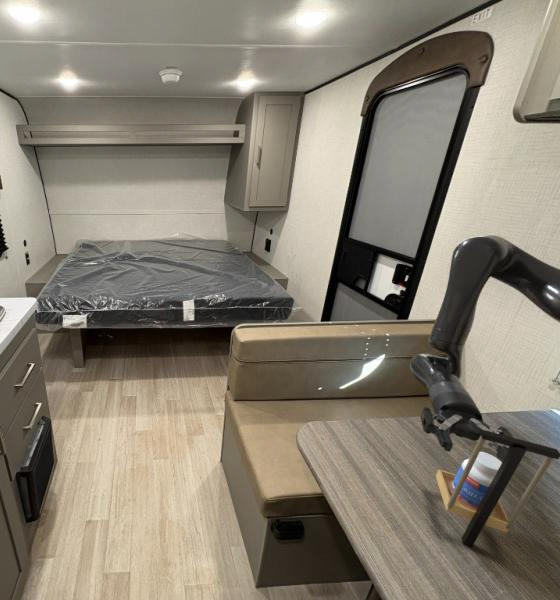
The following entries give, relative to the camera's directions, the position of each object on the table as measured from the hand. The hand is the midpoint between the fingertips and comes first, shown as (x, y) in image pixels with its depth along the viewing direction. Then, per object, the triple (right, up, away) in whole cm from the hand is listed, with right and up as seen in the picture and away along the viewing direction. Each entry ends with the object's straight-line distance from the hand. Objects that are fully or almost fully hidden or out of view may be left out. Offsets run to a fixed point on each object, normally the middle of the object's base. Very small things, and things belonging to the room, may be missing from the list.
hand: (478, 456), depth 59 cm
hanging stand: (-2, -15, +3) cm, 15 cm away
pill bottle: (-2, -8, 0) cm, 8 cm away
